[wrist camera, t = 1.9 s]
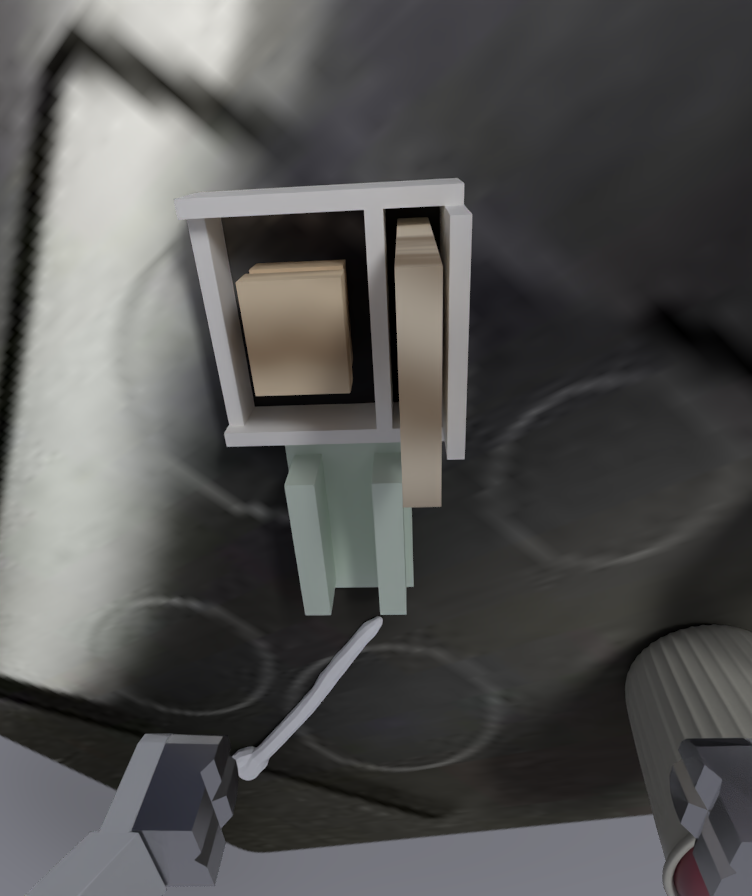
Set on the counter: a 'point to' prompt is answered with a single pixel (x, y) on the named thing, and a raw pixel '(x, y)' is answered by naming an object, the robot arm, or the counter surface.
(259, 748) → the white ladle
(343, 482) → the holder
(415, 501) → the birch panel
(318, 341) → the offcut stack
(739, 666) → the canister
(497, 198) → the counter surface
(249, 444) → the rack
